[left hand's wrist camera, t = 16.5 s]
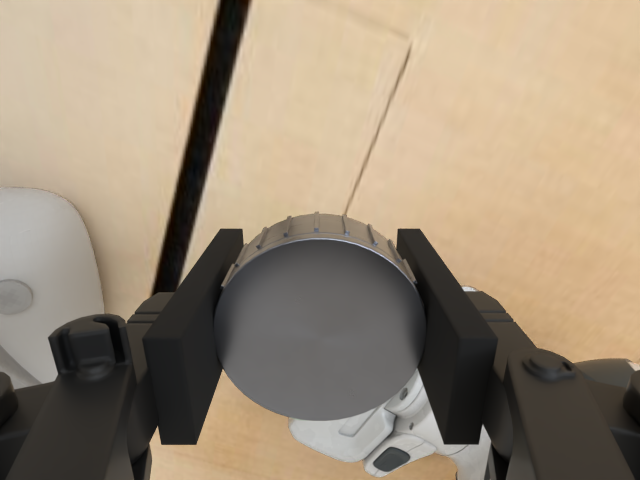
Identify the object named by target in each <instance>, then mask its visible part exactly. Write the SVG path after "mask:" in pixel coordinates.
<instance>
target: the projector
mask: <svg viewBox="0 0 640 480" xmlns="http://www.w3.org/2000/svg"><path fill="white" fill-rule="evenodd" d="M95 314H105V311H104V302H103V294H102V288H101V282H100V277H99V272H98V267H97V263H96V259H95V255H94V251H93V247H92V244H91V241H90V237H89V234H88V232H87V229H86V227H85V224H84V222H83V220H82V218H81V216H80V214H79V213H78V211H77V210H76V208H75V207H74V206H73V205H72V204H71V203H70V202H69V201H67V200H66V199H64V198H63V197H61V196H59V195H56V194H54V193H52V192H49V191H45V190H40V189H33V188H20V187H0V372H4V373H6V374H7V375H8V376H10V378H11V381H12V384H13V387H14V389H19V388H24V387H29V386H34V385H39V384H44V383H49V382H52V381H55V379H56V377H57V375H58V372H57V369H56V365H55V362H54V358H53V355H52V351H51V347H50V344H49V340H48V337H49V336H50V335H51V334H52V333H53V331H54V330H56V329H57V328H59V327H61V326H62V325H64V324H66V323H67V322H70V321H73V320H75V319H78V318H81V317H85V316H90V315H95Z"/></svg>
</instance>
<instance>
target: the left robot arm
mask: <svg viewBox="0 0 640 480" xmlns="http://www.w3.org/2000/svg"><path fill="white" fill-rule="evenodd" d="M243 246H244V244H243V231H242V229H220V230H219V232H218V233H217V235H216V236H215V237H214V239H213V240H212V242H211V243H210V244H209V246H208V247H207V248H206V250H205V251H204V253H203V254H202V255H201V257H200V258H199V260H198V261H197V262H196V264H195V265H194V267H193V268H192V269H191V271H190V272H189V274H188V275H187V276H186V278H185V279H184V281H183V282H182V283H181V285H180V286H179V288H178V289H177V290H176V292H159V293H157V294H155V295H154V296H152V297H150V298H149V299H147V300H145V301H144V302H143V303H142V304H141V305H140V307H139V308H138V309H137V310H136V311H135V314H133V315H132V316H131V317H130V319H129V320H128V321H127V323H125V320H124V319H123V318H121V317H120V316H118V315H113V314H95V315H90V316H85V317H81V318H78V319H75V320H73V321H70V322H67V323H66V324H64V325H62V326H61V327H59V328H57V329H56V330H54V331H53V333H52V334H51V335H50V336H49V337H48V340H49V344H50V347H51V351H52V355H53V358H54V362H55V365H56V369H57V372H58V375H57V377H56V379H55V381H52V382H49V383H44V384H39V385H34V386H29V387H24V388H19V389H14V387H13V384H12V381H11V378H10V376H8V375H7V374H6V373H4V372H0V480H150V473H151V465H152V456H151V449H150V444H149V442H150V440H151V438H152V436H153V434H154V432H155V430H156V428H157V426H158V429H159V434H160V439H161V445H196V444H197V441H198V438H199V435H200V432H201V429H202V427H203V424H204V421H205V418H206V415H207V412H208V409H209V407H210V404H211V401H212V398H213V395H214V392H215V389H216V387H217V384H218V381H219V378H220V375H221V372H222V369H223V367H222V366H221V363H220V361H219V359H218V356H217V353H216V348H215V339H214V329H213V317H214V312H215V307H216V305H217V302H218V299H219V296H220V294H221V292H222V289H220V287H221V285H222V283H223V281H224V279H225V277H226V275H227V273H228V271H229V269H230V267H231V265H232V264H235V262H236V260H237V258H238V256H239V254H240V252H241V250H242V248H243ZM396 250H397V252H398V253H399V255H400V256H401V258H402V260H404V259H406V261H407V263H408V265H409V267H410V269H411V271H412V273H413V275H414V277H415V279H416V281H417V284H415V286H416V288H417V290H418V292H419V294H420V297H421V300H422V302H423V304H424V308H425V313H426V318H427V333H426V342H425V349H424V353H423V356H422V359H421V361H420V363H419V366H418V368H417V369H418V371H419V374H420V377H421V380H422V383H423V386H424V389H425V392H426V394H427V397H428V400H429V403H430V406H431V409H432V412H433V414H434V417H435V420H436V423H437V426H438V429H439V432H440V434H441V437H442V440H443V443H444V445H479V441H480V435H481V430H482V425H484V427H485V429H486V431H487V434H488V436H489V438H490V440H491V444H490V449H489V454H488V459H487V464H486V469H485V474H484V480H640V370H637V371H635V372H634V373H633V374H632V375H631V376H630V379H629V382H628V385H627V388H625V387H620V386H615V385H610V384H605V383H600V382H595V381H591V380H587V379H585V378H584V376H583V374H582V373H581V372H580V370H579V369H578V368H577V367H576V365H574V364H573V363H572V362H570V361H569V360H567V359H566V358H564V357H562V356H560V355H558V354H555V353H553V352H551V351H547V350H543V349H539V348H537V347H536V346H535V345H534V344H533V343H532V341H531V340H530V339H529V338H528V337H527V335H526V334H525V333H524V332H523V331H522V330H521V328H520V327H519V326H518V325H517V324H516V322H513V319H512V318H511V316H510V315H509V314H508V313H506V310H505V309H504V308H503V307H502V306H501V305H500V303H499V302H498V301H497V300H496V299H494V298H492V297H491V296H489V295H487V294H486V293H484V292H482V291H464V290H463V289H462V287H461V286H460V284H459V283H458V282H457V280H456V279H455V277H454V276H453V275H452V273H451V272H450V270H449V269H448V268H447V266H446V265H445V263H444V262H443V261H442V259H441V258H440V256H439V255H438V254H437V252H436V251H435V249H434V248H433V247H432V245H431V244H430V243H429V241H428V240H427V238H426V237H425V236H424V234H423V233H422V231H421V230H420V229H398V234H397V248H396Z"/></svg>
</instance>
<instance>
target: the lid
mask: <svg viewBox="0 0 640 480" xmlns="http://www.w3.org/2000/svg"><path fill="white" fill-rule="evenodd" d="M415 284H417V281H416V279H415V277H414V275H413V273H412V271H411V269H410V267H409V265H408V263H407V261H406V259H404V260H402V258H401V256H400V255H399V253H398V252H397V250H396V248H395V246H394V244H393V242H392V240H391V239H389V240H387V239H386V238H385V237H384V236H382V235H381V234H380V233H378V232H377V231H376V230H374V229H373V227H372V225H370V224H368V225H365V224H364V223H361V222H359V221H356V220H354V219H351V218H347V215H344V214H343V215H342V216H339V215H331V214H319V212H315V214H309V215H301V216H297V217H293V218H292V217H291V216H288V217H287V219H286V220H284V221H281V222H279V223H276V224H275V225H273V226H271V227H269V228H267V227H265V228H263V230H262V232H261V233H260V234H259V235H258V236H256V237H255V238H254V239H253V240H252V241H251V242H250V243H249V244H247V243H246V244H245V245H244V246H243V248H242V250H241V252H240V254H239V256H238V258H237V260H236V262H235V264H232V265H231V267H230V269H229V271H228V273H227V275H226V277H225V279H224V281H223V283H222V285H221V287H220V289H222V292H221V294H220V296H219V299H218V302H217V305H216V307H215V312H214V317H213V329H214V339H215V348H216V353H217V356H218V359H219V361H220V363H221V366H222V367H223V369H224V371H225V372H226V374H227V376H228V377H229V378H230V380H231V381H232V382H233V383H234V385H235V386H236V387H237V388H238V389H239V390H240V391H241V392H242V393H243V394H244V395H246V396H247V397H248V398H250V399H251V400H252V401H254V402H255V403H257V404H259V405H261V406H262V407H264V408H266V409H268V410H270V411H273V412H275V413H277V414H281V415H284V416H287V417H291V418H295V419H300V420H309V421H331V420H340V419H345V418H350V417H353V416H356V415H360V414H363V413H365V412H367V411H370V410H372V409H374V408H376V407H378V406H380V405H381V404H383V403H385V402H386V401H388V400H389V399H390V398H392V397H393V396H394V395H396V394H397V393H398V392H399V391H400V390H401V389H402V388H403V387H404V386H405V385H406V383H407V382H408V381H409V380H410V378H411V377H412V376H413V374H414V372H415V371H416V369H417V368H418V366H419V363H420V361H421V359H422V356H423V353H424V349H425V342H426V333H427V318H426V313H425V308H424V304H423V302H422V300H421V297H420V294H419V292H418V290H417V288H416V286H415Z"/></svg>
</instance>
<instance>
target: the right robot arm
mask: <svg viewBox="0 0 640 480" xmlns="http://www.w3.org/2000/svg"><path fill="white" fill-rule="evenodd" d="M461 287H462V289H463V290H464V291H479V290H477V289H476V288H474V287H471V286H461ZM573 364H574V365H576V367H577V368H578V369H579V370H580V372H581V373H582V374H583V376H584V378H585V379H587V380H591V381H595V382H600V383H605V384H610V385H615V386H620V387H625V388H627V385H628V382H629V379H630V376H631V375H632V374H633V373H634V372H635V371H637V370H640V365H638V364H636V363H633V362H632V361H630V360H628V359H597V360H589V361H583V362H578V363H573ZM288 427H289V430H290V432H291V434H292V436H293V437H294V438H295V439H296V440H297V441H299V442H300V443H302V444H304V445H306V446H308V447H309V448H311V449H314V450H316V451H318V452H320V453H322V454H324V455H327V456H329V457H331V458H334V459H336V460H339V461H343V462H358V461H361V460H362V461H363V466H364V470H365V471H366V472H367V473H369V474H370V475H372V476H374V477H383V476H386V475H387V474H389V473H391V472H393V471H395V470H396V469H398V468H400V467H402V466H404V465H406V464H408V463H410V462H412V461H415V460H417V459H420V458H423V457H426V456H429V455H431V454H433V453H434V452H435V453H436V454H439V455H442V456H446V457H448V458H450V459H451V460H452V461H453V462H454V463H455V465H456V466H457V469H458V472H456V480H484V474H485V469H486V464H487V459H488V454H489V449H490V444H491V440H490V438H489V436H488V434H487V431H486V429H485V427H484V425H482V430H481V435H480V441H479V445H444V443H443V440H442V437H441V434H440V432H439V429H438V426H437V423H436V420H435V417H434V414H433V412H432V409H431V406H430V403H429V400H428V397H427V394H426V392H425V389H424V386H423V383H422V380H421V377H420V374H419V371H418V369H416V371H415V372H414V374H413V376H412V377H411V378H410V380H409V381H408V382H407V383H406V385H405V386H404V387H403V388H402V389H401V390H400V391H399V392H398V393H397V394H396V395H394V396H393V397H392V398H390V399H389V400H388V401H386V402H385V403H383V404H381V405H380V406H378V407H376V408H374V409H372V410H370V411H367V412H365V413H363V414H360V415H356V416H353V417H350V418H345V419H340V420H331V421H301V420H296V419H292V418H290V417H289V419H288Z"/></svg>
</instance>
